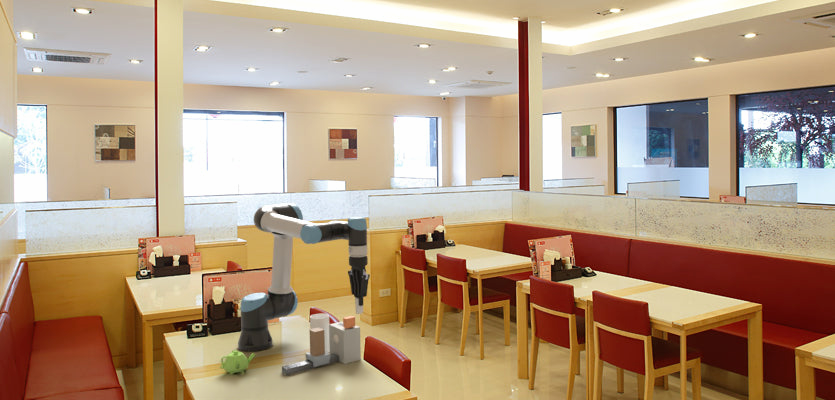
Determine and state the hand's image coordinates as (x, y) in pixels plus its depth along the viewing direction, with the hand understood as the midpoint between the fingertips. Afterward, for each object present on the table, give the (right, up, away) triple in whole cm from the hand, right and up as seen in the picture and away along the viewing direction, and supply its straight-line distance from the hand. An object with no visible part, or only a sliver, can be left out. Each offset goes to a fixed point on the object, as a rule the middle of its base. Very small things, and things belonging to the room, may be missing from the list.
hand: (359, 312), depth 235 cm
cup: (-19, -21, +20) cm, 35 cm away
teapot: (-48, -23, -2) cm, 54 cm away
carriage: (-18, -21, +3) cm, 28 cm away
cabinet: (-7, -21, +11) cm, 25 cm away
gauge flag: (-5, -8, +7) cm, 11 cm away
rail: (-20, -22, +1) cm, 30 cm away
